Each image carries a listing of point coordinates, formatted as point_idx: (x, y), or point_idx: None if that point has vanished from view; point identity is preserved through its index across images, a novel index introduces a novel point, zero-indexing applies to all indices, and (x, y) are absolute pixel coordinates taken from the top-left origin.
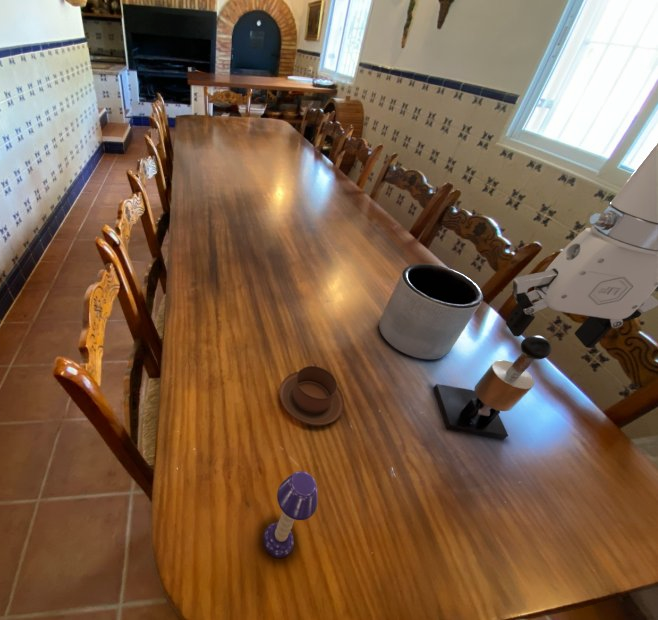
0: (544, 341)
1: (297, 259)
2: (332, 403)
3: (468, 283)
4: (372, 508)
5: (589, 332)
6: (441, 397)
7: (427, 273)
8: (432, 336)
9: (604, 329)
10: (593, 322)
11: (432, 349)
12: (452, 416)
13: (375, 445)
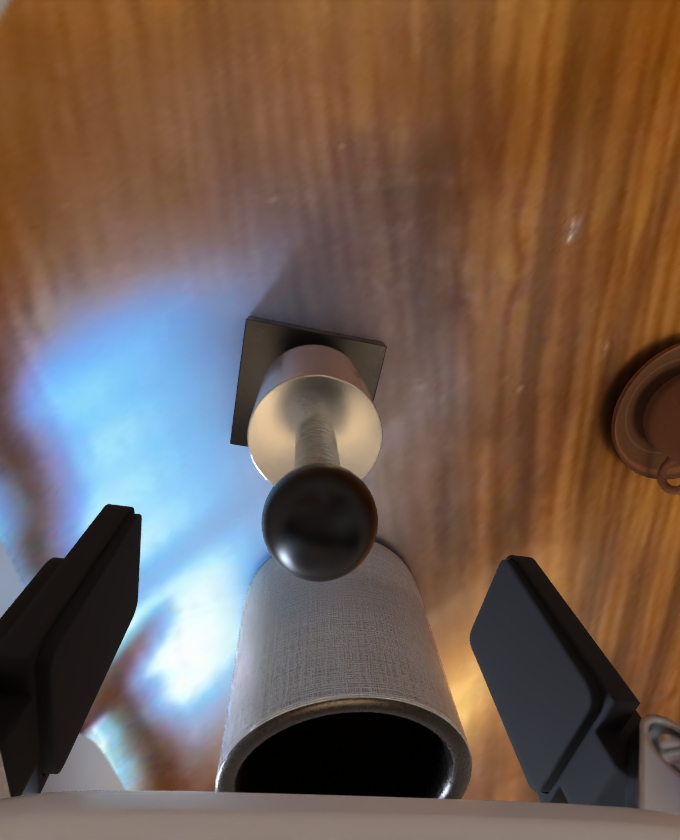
0: (324, 544)
1: (504, 786)
2: (629, 401)
3: None
4: (666, 139)
5: (106, 611)
6: None
7: None
8: (366, 592)
9: (50, 638)
10: (74, 700)
11: None
12: (367, 371)
13: (577, 297)
